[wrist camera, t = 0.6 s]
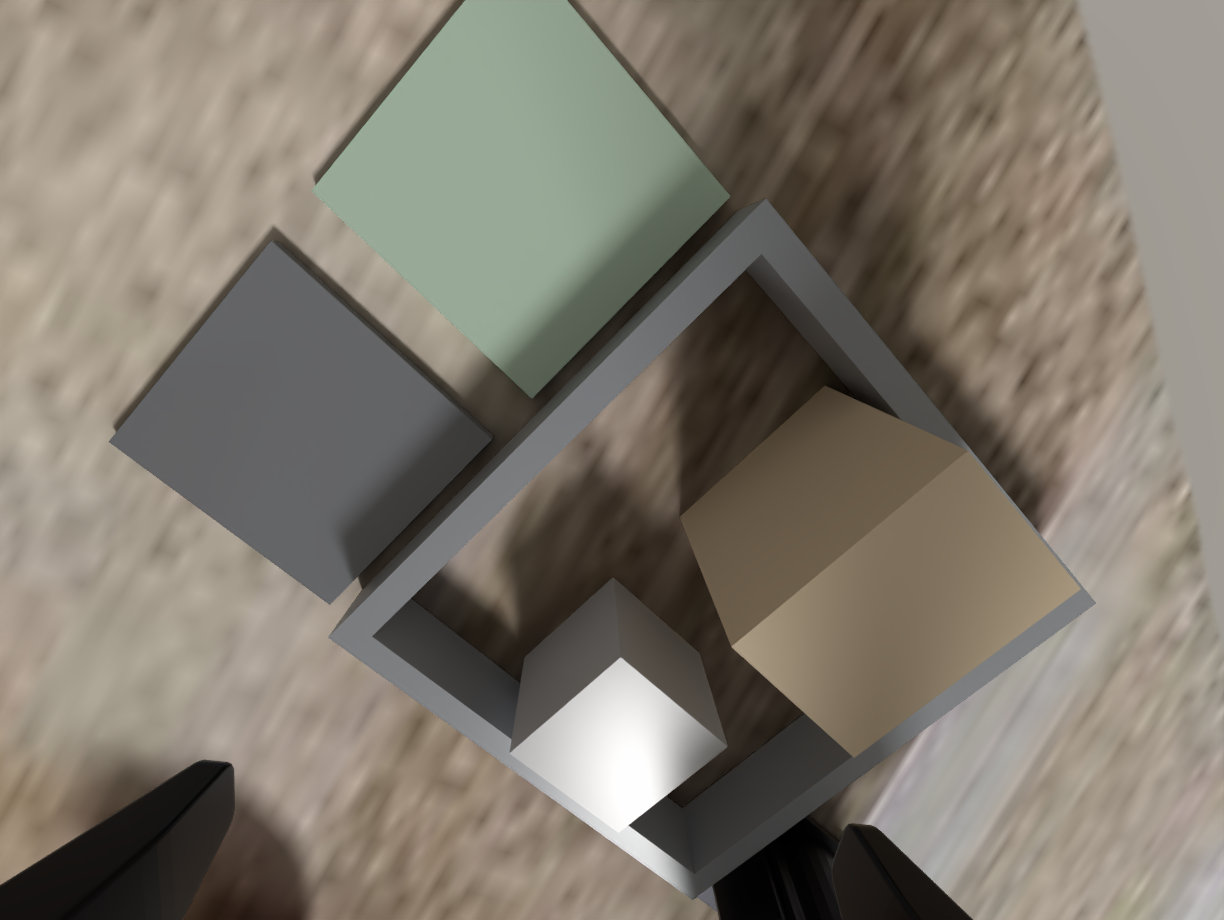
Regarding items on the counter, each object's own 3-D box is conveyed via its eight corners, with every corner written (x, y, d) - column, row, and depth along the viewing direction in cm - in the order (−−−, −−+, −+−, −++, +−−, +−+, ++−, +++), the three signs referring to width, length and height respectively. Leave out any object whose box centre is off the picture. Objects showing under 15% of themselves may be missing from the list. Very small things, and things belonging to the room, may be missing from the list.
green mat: (727, 198, 18) (730, 196, 18) (532, 396, 20) (531, 398, 20) (516, -55, 16) (515, -63, 16) (317, 192, 18) (311, 190, 17)
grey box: (698, 651, 24) (728, 746, 19) (611, 724, 25) (618, 833, 20) (613, 576, 22) (620, 657, 18) (524, 655, 23) (509, 753, 19)
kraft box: (906, 478, 22) (1081, 588, 14) (764, 597, 23) (854, 758, 15) (824, 385, 20) (968, 450, 13) (679, 516, 22) (731, 647, 14)
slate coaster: (493, 436, 20) (491, 439, 20) (334, 599, 22) (329, 604, 22) (277, 241, 18) (271, 240, 18) (117, 438, 20) (109, 441, 19)
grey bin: (1032, 562, 23) (1096, 603, 20) (680, 832, 26) (692, 900, 24) (737, 210, 18) (766, 198, 16) (361, 590, 22) (328, 637, 19)
